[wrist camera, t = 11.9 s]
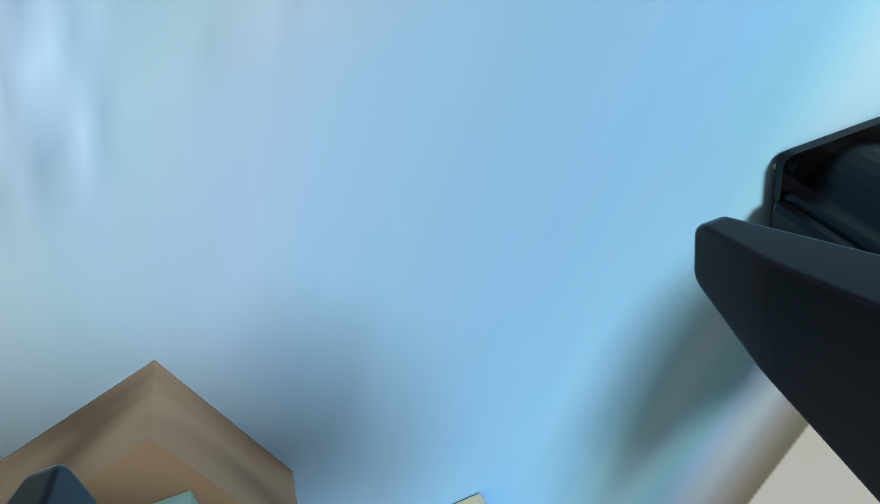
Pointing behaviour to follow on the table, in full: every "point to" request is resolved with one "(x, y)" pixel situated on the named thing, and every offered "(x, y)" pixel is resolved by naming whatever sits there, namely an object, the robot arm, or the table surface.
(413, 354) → the table surface
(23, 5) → the table surface
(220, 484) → the walnut base block
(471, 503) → the stack of blocks
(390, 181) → the table surface
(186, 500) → the teal block
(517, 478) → the table surface
